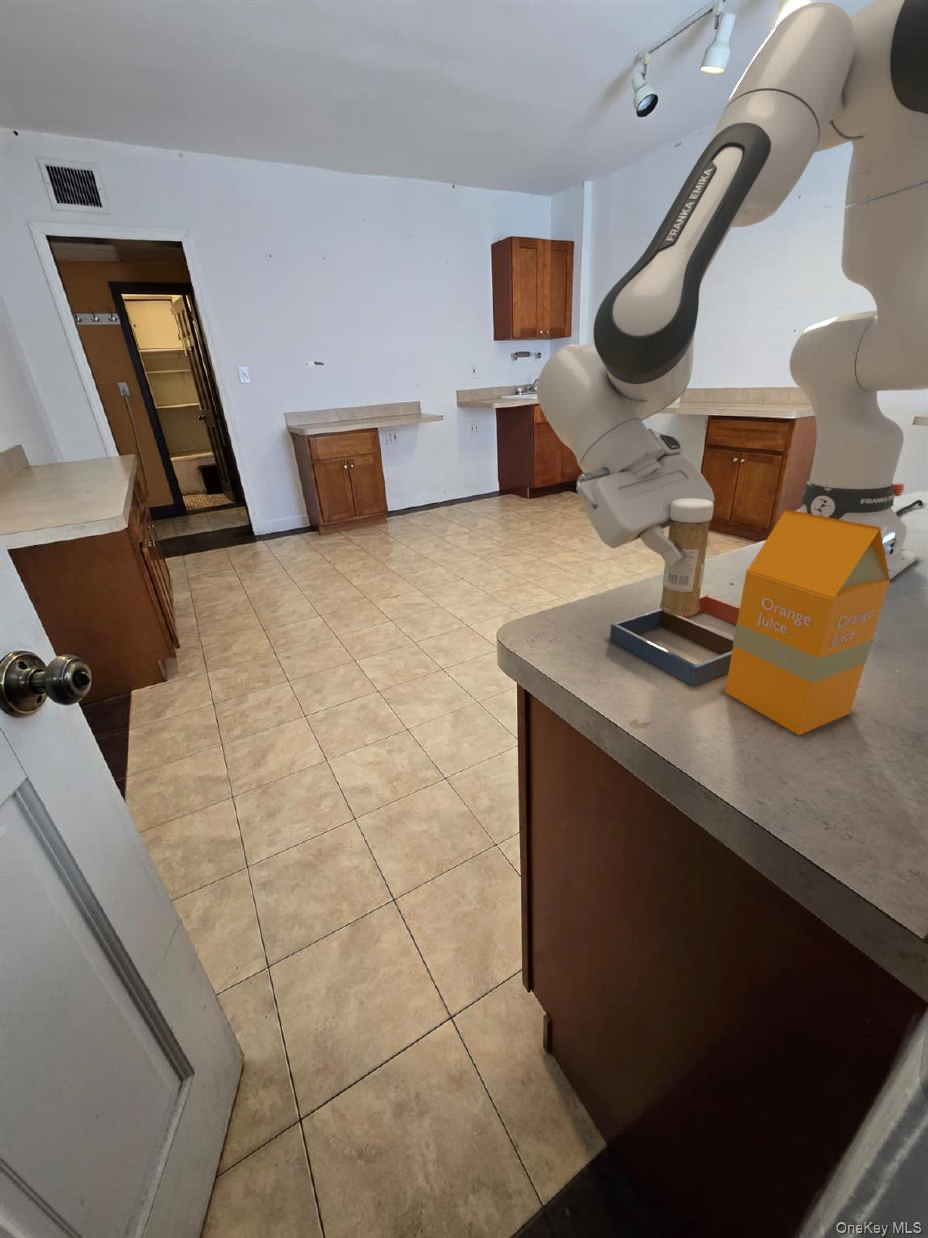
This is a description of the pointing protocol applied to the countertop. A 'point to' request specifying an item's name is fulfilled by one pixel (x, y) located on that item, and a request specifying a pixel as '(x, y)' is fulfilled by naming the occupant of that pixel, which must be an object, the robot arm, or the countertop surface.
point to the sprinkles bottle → (686, 574)
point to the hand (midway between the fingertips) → (690, 555)
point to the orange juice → (808, 619)
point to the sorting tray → (670, 662)
